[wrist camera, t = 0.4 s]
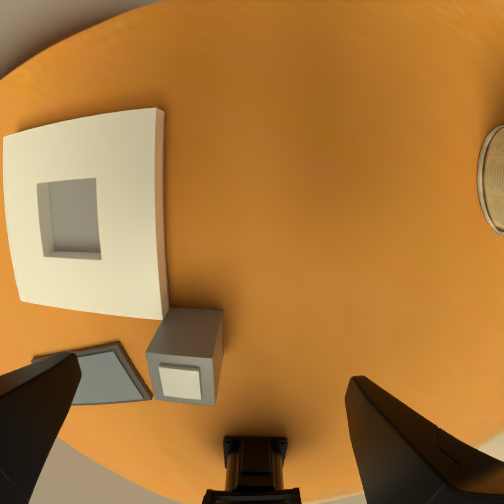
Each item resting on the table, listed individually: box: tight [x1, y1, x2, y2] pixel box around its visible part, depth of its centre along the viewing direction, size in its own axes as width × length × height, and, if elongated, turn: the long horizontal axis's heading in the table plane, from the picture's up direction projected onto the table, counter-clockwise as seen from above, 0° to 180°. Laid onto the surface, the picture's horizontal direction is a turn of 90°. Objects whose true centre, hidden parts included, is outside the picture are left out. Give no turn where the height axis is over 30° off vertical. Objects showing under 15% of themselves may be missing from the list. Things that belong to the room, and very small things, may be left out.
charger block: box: [146, 307, 223, 406], centre depth 19 cm, size 4×4×6 cm
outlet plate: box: [3, 108, 170, 320], centre depth 19 cm, size 14×14×2 cm
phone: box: [31, 342, 153, 406], centre depth 24 cm, size 6×13×1 cm, turn 108°
